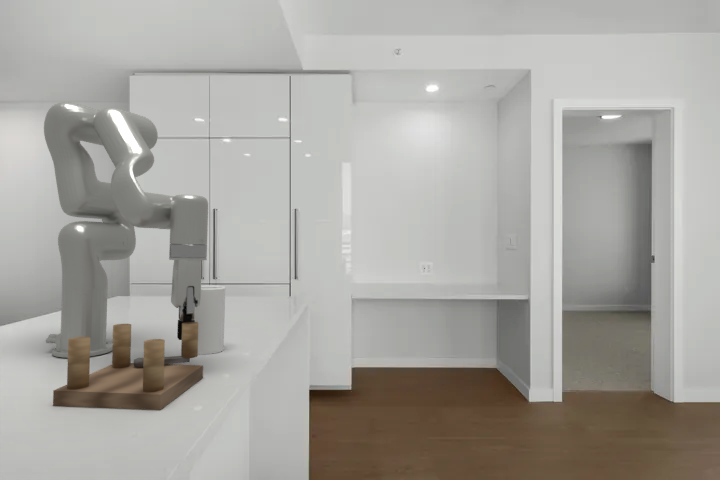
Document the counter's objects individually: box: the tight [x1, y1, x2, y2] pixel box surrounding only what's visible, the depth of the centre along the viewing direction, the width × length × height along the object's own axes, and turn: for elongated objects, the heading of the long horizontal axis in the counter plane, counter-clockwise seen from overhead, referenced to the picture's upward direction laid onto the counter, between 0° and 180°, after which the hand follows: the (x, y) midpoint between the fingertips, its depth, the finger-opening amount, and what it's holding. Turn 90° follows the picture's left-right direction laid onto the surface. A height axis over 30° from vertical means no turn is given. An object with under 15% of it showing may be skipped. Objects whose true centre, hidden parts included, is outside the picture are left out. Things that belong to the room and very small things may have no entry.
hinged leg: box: [133, 322, 199, 367], centre depth 93 cm, size 12×3×8 cm, turn 117°
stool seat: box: [52, 323, 204, 411], centre depth 84 cm, size 18×18×11 cm
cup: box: [194, 285, 226, 355], centre depth 116 cm, size 8×8×16 cm
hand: (185, 338), depth 98 cm, fingers closed
